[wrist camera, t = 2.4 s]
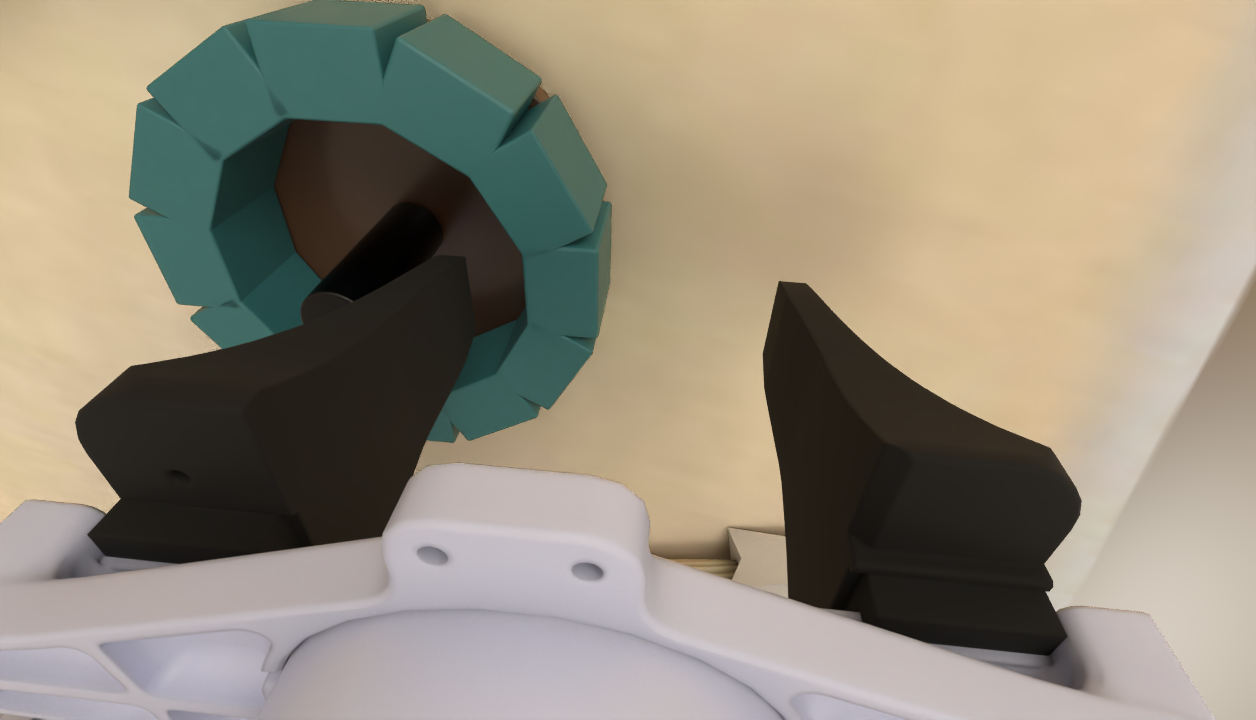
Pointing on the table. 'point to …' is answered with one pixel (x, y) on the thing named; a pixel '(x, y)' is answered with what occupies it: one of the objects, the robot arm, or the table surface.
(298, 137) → the post
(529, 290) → the ring
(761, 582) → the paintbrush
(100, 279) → the table surface
